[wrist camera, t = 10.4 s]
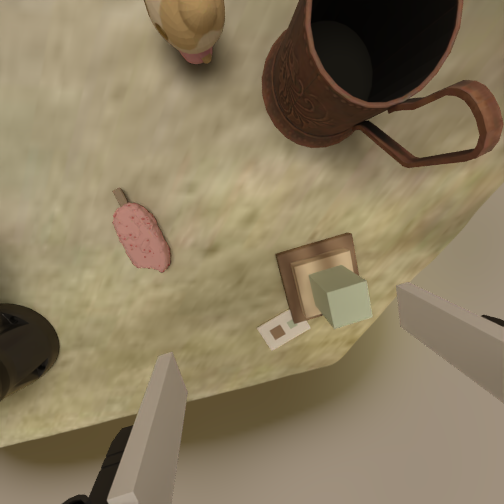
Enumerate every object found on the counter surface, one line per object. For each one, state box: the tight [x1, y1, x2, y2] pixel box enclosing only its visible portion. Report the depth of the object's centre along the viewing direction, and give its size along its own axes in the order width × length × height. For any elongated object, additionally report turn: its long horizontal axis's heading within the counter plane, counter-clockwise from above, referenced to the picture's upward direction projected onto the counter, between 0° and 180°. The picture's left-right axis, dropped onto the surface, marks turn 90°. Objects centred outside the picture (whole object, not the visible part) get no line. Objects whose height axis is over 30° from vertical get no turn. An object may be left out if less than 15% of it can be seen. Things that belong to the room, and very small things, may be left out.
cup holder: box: [262, 0, 503, 168], centre depth 29 cm, size 18×24×25 cm
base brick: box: [275, 233, 359, 324], centre depth 46 cm, size 14×14×4 cm
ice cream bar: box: [112, 188, 171, 273], centre depth 41 cm, size 6×4×15 cm
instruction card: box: [257, 309, 310, 351], centre depth 50 cm, size 9×6×1 cm, turn 120°
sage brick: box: [309, 265, 373, 329], centre depth 41 cm, size 6×6×8 cm
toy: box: [144, 0, 225, 64], centre depth 30 cm, size 10×8×15 cm
